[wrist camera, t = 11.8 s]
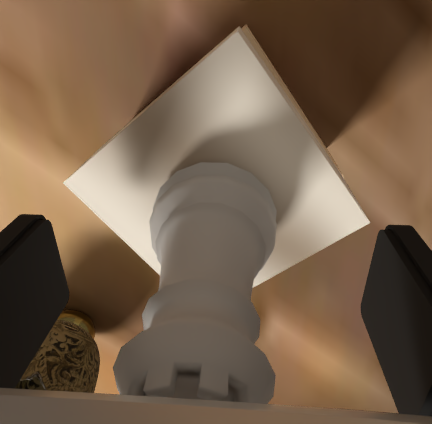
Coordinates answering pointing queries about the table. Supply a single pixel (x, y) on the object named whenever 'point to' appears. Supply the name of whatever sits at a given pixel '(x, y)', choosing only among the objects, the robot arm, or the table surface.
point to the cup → (65, 357)
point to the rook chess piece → (204, 291)
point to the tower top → (222, 157)
